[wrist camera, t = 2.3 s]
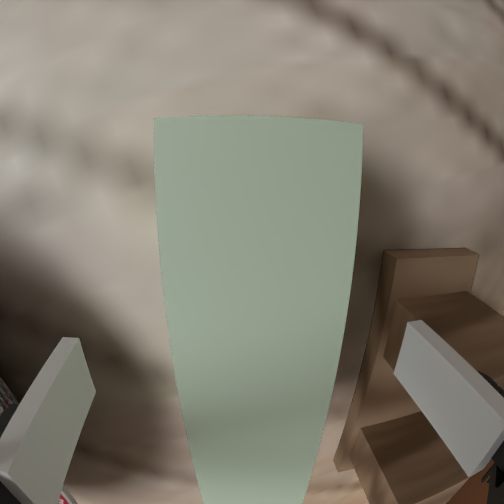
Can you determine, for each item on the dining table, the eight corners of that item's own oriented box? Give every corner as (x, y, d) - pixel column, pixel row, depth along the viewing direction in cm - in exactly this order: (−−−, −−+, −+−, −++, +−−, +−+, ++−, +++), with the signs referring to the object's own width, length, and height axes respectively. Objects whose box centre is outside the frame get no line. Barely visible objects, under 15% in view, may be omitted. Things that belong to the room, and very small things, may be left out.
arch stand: (383, 250, 17) (498, 333, 8) (465, 247, 18) (568, 306, 9) (333, 460, 24) (365, 542, 15) (398, 443, 24) (438, 513, 16)
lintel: (187, 136, 14) (154, 118, 6) (280, 135, 15) (362, 123, 6) (203, 398, 19) (207, 516, 11) (271, 394, 20) (300, 507, 11)
